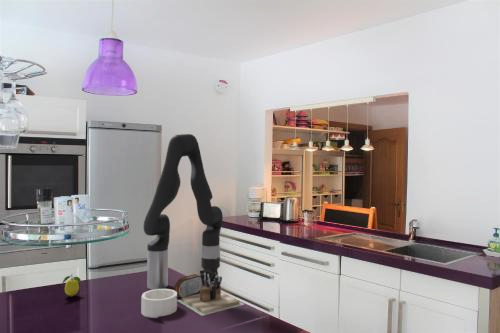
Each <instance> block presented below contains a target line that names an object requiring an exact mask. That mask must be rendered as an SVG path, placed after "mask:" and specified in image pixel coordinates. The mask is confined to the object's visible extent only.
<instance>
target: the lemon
mask: <svg viewBox="0 0 500 333" xmlns="http://www.w3.org/2000/svg"><path fill="white" fill-rule="evenodd" d="M81 280H82V279H81V278H80V277H79V276H73V274H71V275H68V276H66V277H64V278H63V281H62V282H61V283H62V284H64V283H65V285H64V293H65V294H66V295H67V296H70V297H73V296H74V295H77V294H78V292H79V289H80V284H79V283H81V282H82V281H81Z"/></svg>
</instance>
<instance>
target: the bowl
mask: <svg viewBox="0 0 500 333" xmlns="http://www.w3.org/2000/svg"><path fill="white" fill-rule="evenodd" d="M177 300H178V297H177V292H176V291H174V289H170V288H163V289H149V290H147V291H145V292H142V295H141V300H140V302H141V303H140V305H141V306H140V307H141V309H140V312H141V314H140V315H142V316H144V317H145V318H151V319H158V318H159V317H164V316H169V315H172V314H173V313H175V312H177V309H178V301H177Z"/></svg>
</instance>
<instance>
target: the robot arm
mask: <svg viewBox="0 0 500 333" xmlns="http://www.w3.org/2000/svg"><path fill="white" fill-rule="evenodd" d="M200 150H201V149H200V146H199V142H198V140H197V138H196V136H195V135H193V134H190V133H185V134H183V133H182V134H181V133H180V134H175V135H173V136H171V138H170V140H169V142H168V146H167V150H166V154H165V155H166V156H165V161H164V164H163V168H162V171H161V174H160V178H159V180H158V183H157V186H156V189H155V193H154V196H153V200H152V202H151V204H150V207H149V208H148V211H147V213H146V215H145V217H144V221H143V232H144V234H145V235H146V236H155V239H153V240H151V241H150V242H148V243H147V246H146V247H147V261H146V263H147V264H146V265H147V268H146V269H147V270H146V271H147V272H146V273H147V274H146V279H147V282H146V285H147V286H146V288H147V289H149V290H154V289H167V287H168V286H169V284H168V283H169V282H168V277H169V270H168V269H169V244H170V234H171V233H170V232H171V222H170V218H169V216H168V215H167V214H164V213H162V212H164V210H165V209H166V208H167V207H169V205H170V204H171V203H172V202H173V201H174V200H175V199H176V198H177V197H178V196H177V195H178V193H179V190H180V187H181V177H180V174H179V165H180V161H181V159H182V158H183V157H187V158H188V160H189V163H190V169H191V171H190V187H191V191H192V193H193V196H194V198H195V200H196V210H197V211H196V212H197V215H198V218H199V221H200V223H202V224H204V225H205V226H206V228H205V229H204V230H203V231H202V236H201V239H202V240H201V241H202V242H201V258H200V259H201V269H202V270H200V271H199V276H201V281H202V285H203V286H204V287H207V286H210V299H211V300H213V299H215V298H216V290H217V289H219V288H220V286H221V284H222V280H223V277H222V276H220V275H219V271H218V269H220V267H221V248H220V233H221V229H222V224H223V216H224V215H223V211H222V210H221V208H220V207H218V206H216V205H213V206H212V203H211V200H212V199H213V198H214V197H213V193H212V190H211V188H210V185H209V183H208V180H207V176H206V174H205V169H204V164H203V160H202V155H201V151H200ZM212 285H213V286H212Z"/></svg>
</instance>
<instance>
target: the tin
mask: <svg viewBox="0 0 500 333" xmlns="http://www.w3.org/2000/svg"><path fill="white" fill-rule="evenodd" d="M203 286H204V285H202V281H201V276H200V274H199V275H198V274H196V273H193V274H191V275H187V276H182V277H180V278H179V279H177V280H176V282H175V284H174V286H173V290H174V291H176V292H177V298H180V299H182V298H183V297H188V296H192V295H195V294H196V293H197V294H198V293H200V288H203Z"/></svg>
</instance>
